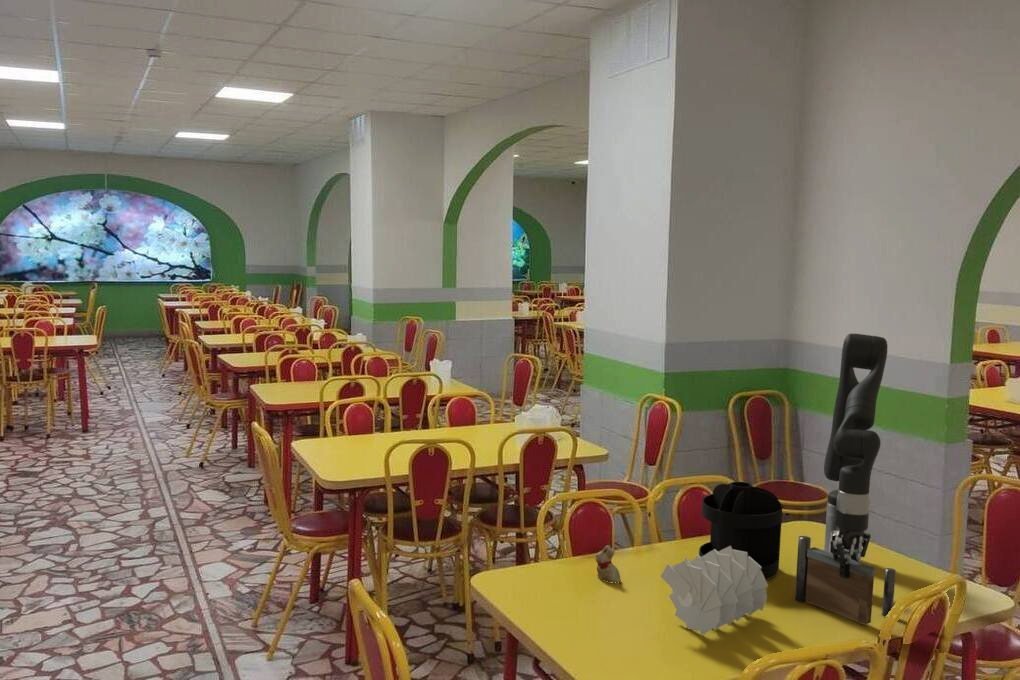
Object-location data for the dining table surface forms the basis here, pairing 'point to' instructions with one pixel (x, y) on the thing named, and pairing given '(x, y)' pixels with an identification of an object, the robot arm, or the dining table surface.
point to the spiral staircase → (716, 588)
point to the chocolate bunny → (607, 566)
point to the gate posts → (802, 577)
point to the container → (745, 523)
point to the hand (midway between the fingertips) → (848, 575)
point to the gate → (839, 586)
